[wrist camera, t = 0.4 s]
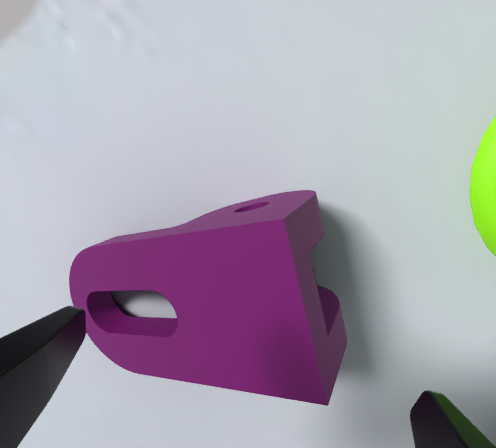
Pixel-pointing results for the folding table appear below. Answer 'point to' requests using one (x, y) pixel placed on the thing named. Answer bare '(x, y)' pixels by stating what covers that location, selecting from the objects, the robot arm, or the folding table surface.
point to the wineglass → (485, 188)
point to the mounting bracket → (222, 300)
